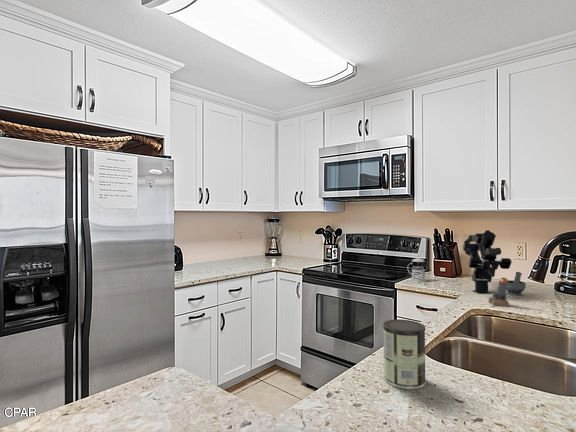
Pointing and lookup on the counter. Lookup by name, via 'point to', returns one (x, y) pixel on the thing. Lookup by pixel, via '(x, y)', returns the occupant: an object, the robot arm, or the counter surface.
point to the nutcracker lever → (501, 288)
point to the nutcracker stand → (498, 301)
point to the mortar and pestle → (516, 286)
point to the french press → (422, 271)
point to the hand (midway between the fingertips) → (493, 276)
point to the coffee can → (404, 354)
